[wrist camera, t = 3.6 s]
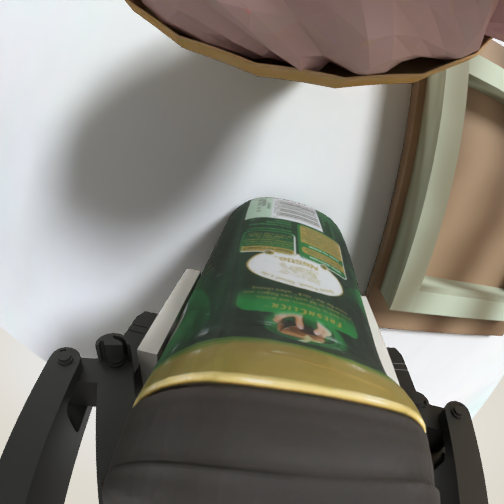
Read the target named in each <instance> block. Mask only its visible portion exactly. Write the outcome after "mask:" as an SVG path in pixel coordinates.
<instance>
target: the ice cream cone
mask: <svg viewBox="0 0 504 504" xmlns="http://www.w3.org/2000/svg"><path fill="white" fill-rule="evenodd" d="M125 1H126V2H127V4H128V5H129V6H130V7H131V8H132V10H133V11H134V12H136V13H137V14H138V15H140V16H141V17H143V18H144V19H145V20H147V21H148V22H150V23H151V24H152V25H154V26H155V27H156V28H158V29H159V30H160V31H162V32H163V33H164V34H166V35H167V36H168V37H169V38H171V39H172V40H173V41H175V42H176V43H177V44H178V45H180V46H181V47H183V48H185V49H187V50H190V51H193V52H196V53H199V54H202V55H204V56H207V57H210V58H213V59H216V60H218V61H221V62H224V63H226V64H229V65H232V66H234V67H237V68H239V69H242V70H244V71H246V72H249V73H251V74H254V75H256V76H260V77H269V78H277V79H284V80H291V81H298V82H304V83H310V84H315V85H321V86H326V87H331V88H342V87H352V86H363V85H376V84H395V83H414V82H417V81H419V80H421V79H424V78H426V77H428V76H431V75H433V74H436V73H438V72H441V71H443V70H446V69H448V68H451V67H453V66H456V65H458V64H461V63H464V62H466V61H468V60H470V59H472V58H474V57H476V56H478V55H479V53H480V52H481V51H482V50H483V49H484V48H485V46H486V45H487V44H488V43H489V42H490V41H491V39H492V38H495V39H498V40H501V41H503V42H504V0H125Z"/></svg>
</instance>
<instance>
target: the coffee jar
mask: <svg viewBox="0 0 504 504" xmlns="http://www.w3.org/2000/svg"><path fill="white" fill-rule="evenodd" d="M99 482H100V484H101V486H102V500H103V504H440V493H439V490H438V489H437V488H436V487H435V482H434V468H433V462H432V457H431V452H430V448H429V442H428V438H427V434H426V426H425V423H424V421H423V419H422V417H421V414H420V413H419V411H418V409H417V407H416V406H415V404H414V402H413V401H412V400H411V398H410V397H409V396H408V395H407V393H406V392H405V391H404V390H403V389H402V388H401V387H400V386H399V385H398V384H397V383H396V382H395V381H393V380H392V379H391V378H390V377H389V376H387V374H386V372H385V370H384V368H383V365H382V363H381V361H380V358H379V355H378V352H377V349H376V346H375V343H374V339H373V336H372V332H371V329H370V325H369V322H368V318H367V315H366V312H365V308H364V305H363V301H362V298H361V295H360V291H359V288H358V284H357V281H356V277H355V273H354V269H353V266H352V262H351V259H350V255H349V253H348V250H347V247H346V244H345V241H344V239H343V236H342V234H341V232H340V230H339V228H338V227H337V225H336V224H335V223H334V222H333V221H332V220H331V219H330V218H329V217H327V216H326V215H324V214H322V213H321V212H319V211H317V210H314V209H312V208H310V207H307V206H305V205H302V204H300V203H296V202H293V201H289V200H285V199H279V198H271V197H264V198H256V199H252V200H249V201H247V202H245V203H244V204H242V205H241V206H240V207H239V208H237V209H236V210H235V212H234V213H233V214H232V216H231V217H230V219H229V221H228V222H227V224H226V226H225V228H224V230H223V232H222V234H221V236H220V238H219V240H218V242H217V244H216V246H215V248H214V250H213V252H212V254H211V256H210V259H209V261H208V263H207V264H206V266H205V269H204V271H203V273H202V275H201V277H200V279H199V280H198V282H197V284H196V287H195V289H194V291H193V293H192V295H191V297H190V299H189V301H188V303H187V305H186V307H185V309H184V311H183V313H182V315H181V317H180V320H179V322H178V324H177V326H176V328H175V330H174V332H173V334H172V336H171V338H170V340H169V342H168V344H167V346H166V348H165V350H164V352H163V354H162V356H161V358H160V359H159V361H158V363H157V364H156V366H155V368H154V369H153V371H152V373H151V375H150V376H149V378H148V380H147V381H146V383H145V385H144V386H143V388H142V390H141V391H140V393H139V395H138V397H137V398H136V400H135V402H134V405H133V408H132V409H131V410H130V412H129V413H128V415H127V418H126V421H125V424H124V427H123V430H122V432H121V435H120V438H119V441H118V443H117V446H116V449H115V452H114V455H113V457H112V460H111V464H110V467H109V470H108V473H107V475H106V476H105V477H104V478H102V479H101V480H100V481H99Z"/></svg>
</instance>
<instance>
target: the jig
mask: <svg viewBox="0 0 504 504" xmlns="http://www.w3.org/2000/svg"><path fill="white" fill-rule="evenodd" d="M365 296H366V298H367V300H368V303H369V305H370V307H371V310H372V312H373V315H374V317H375V320H376V322H377V325H378V327H382V328H392V329H403V330H414V331H427V332H440V333H455V334H472V335H495V336H503V334H504V47H503V46H501V45H500V44H498V43H497V42H495V41H493V40H491V41H490V42H489V43H488V44H487V45H486V46H485V48H484V49H483V50H482V51H481V52H480V53H479V55H478V56H476V57H474V58H472V59H470V60H468V61H466V62H464V63H461V64H458V65H456V66H453V67H451V68H448V69H446V70H443V71H441V72H438V73H436V74H433V75H431V76H428V77H426V78H424V79H421V80H419V81H417V82H414V83H413V85H412V93H411V101H410V108H409V115H408V122H407V128H406V134H405V140H404V145H403V151H402V156H401V161H400V166H399V171H398V176H397V180H396V185H395V189H394V194H393V198H392V202H391V206H390V210H389V214H388V218H387V222H386V226H385V230H384V233H383V237H382V241H381V244H380V248H379V251H378V255H377V258H376V261H375V265H374V268H373V271H372V274H371V278H370V281H369V284H368V287H367V290H366V293H365Z"/></svg>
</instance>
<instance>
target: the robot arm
mask: <svg viewBox="0 0 504 504" xmlns="http://www.w3.org/2000/svg"><path fill="white" fill-rule="evenodd" d="M200 276H201V271H198V270H193V269H186V271H185V272H184V274H183V275H182V277H181V278H180V280H179V282H178V283H177V285H176V286H175V288H174V290H173V291H172V293H171V294H170V296H169V298H168V299H167V301H166V302H165V304H164V306H163V307H162V309H161V310H160V312H159V314H155V313H150V312H146V311H145V312H143V313H142V314H140V315H139V316H137V317H136V319H135V320H134V321H133V323H132V325H131V326H130V327H129V329H128V331H127V332H126V333H125V335H124V336H123V335H121V334H115V333H112V334H106V335H104V336H101V337H100V338H99V339H98V340H97V342H96V344H95V346H96V350H97V355H98V359H90V358H81V357H80V354H79V352H78V351H77V350H75V349H73V348H67V347H64V348H60V349H58V350H56V351H54V352H53V354H52V355H51V356H50V358H49V360H48V361H47V363H46V365H45V367H44V369H43V370H42V372H41V374H40V376H39V378H38V380H37V382H36V383H35V385H34V387H33V389H32V391H31V393H30V395H29V397H28V399H27V401H26V403H25V405H24V407H23V409H22V411H21V413H20V415H19V417H18V419H17V422H16V424H15V426H14V428H13V430H12V432H11V435H10V437H9V439H8V442H7V444H6V446H5V449H4V451H3V454H2V456H1V459H0V504H64V502H65V497H66V494H67V490H68V486H69V482H70V478H71V475H72V471H73V467H74V464H75V460H76V457H77V454H78V450H79V447H80V443H81V440H82V437H83V434H84V431H85V428H86V424H87V422H88V419H89V416H90V412H91V409H92V407H93V406H96V465H97V483H98V497H99V504H103V500H102V486H101V484H100V482H99V481H100V480H101V479H102V478H104V477H105V476H106V475H107V473H108V470H109V467H110V464H111V460H112V457H113V455H114V452H115V449H116V446H117V443H118V441H119V438H120V435H121V432H122V430H123V427H124V424H125V421H126V418H127V415H128V413H129V412H130V410H131V409H132V408H133V405H134V402H135V400H136V398H137V397H138V395H139V393H140V391H141V390H142V388H143V386H144V385H145V383H146V381H147V380H148V378H149V376H150V375H151V373H152V371H153V369H154V368H155V366H156V364H157V363H158V361H159V359H160V358H161V356H162V354H163V352H164V350H165V348H166V346H167V344H168V342H169V340H170V338H171V336H172V334H173V332H174V330H175V328H176V326H177V324H178V322H179V320H180V317H181V315H182V313H183V311H184V309H185V307H186V305H187V303H188V301H189V299H190V297H191V295H192V293H193V291H194V289H195V287H196V284H197V282H198V280H199V279H200ZM361 298H362V301H363V305H364V308H365V312H366V315H367V318H368V322H369V325H370V329H371V332H372V336H373V339H374V343H375V346H376V349H377V352H378V355H379V358H380V361H381V363H382V365H383V368H384V370H385V372H386V374H387V376H389V377H390V378H391V379H392V380H393V381H395V382H396V383H397V384H398V385H399V386H400V387H401V388H402V389H403V390H404V391H405V392H406V393H407V395H408V396H409V397H410V398H411V400H412V401H413V402H414V404H415V406H416V407H417V409H418V411H419V413H420V414H421V417H422V419H423V421H424V423H425V426H426V434H427V438H428V442H429V448H430V452H431V457H432V462H433V468H434V482H435V487H436V488H437V489H438V490H439V493H440V504H488V498H487V491H486V485H485V479H484V473H483V468H482V463H481V458H480V453H479V449H478V445H477V440H476V436H475V432H474V428H473V424H472V420H471V417H470V413H469V411H468V409H467V408H466V407H465V405H463V404H462V403H460V402H457V401H451V402H449V403H447V405H446V406H445V407H444V408H441V407H437V406H433V405H430V404H429V402H428V400H427V398H426V397H425V396H424V395H423V394H421V393H419V392H417V391H416V390H415V388H414V385H413V382H412V380H411V377H410V375H409V372H408V371H407V367H406V365H405V362H404V360H403V357H402V355H401V354H400V353H399V352H398V351H397V349H396V348H388V347H386V346H385V343H384V340H383V338H382V335H381V333H380V330H379V327H378V325H377V322H376V320H375V317H374V315H373V312H372V310H371V307H370V305H369V303H368V300H367V298H366V296H361Z"/></svg>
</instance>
